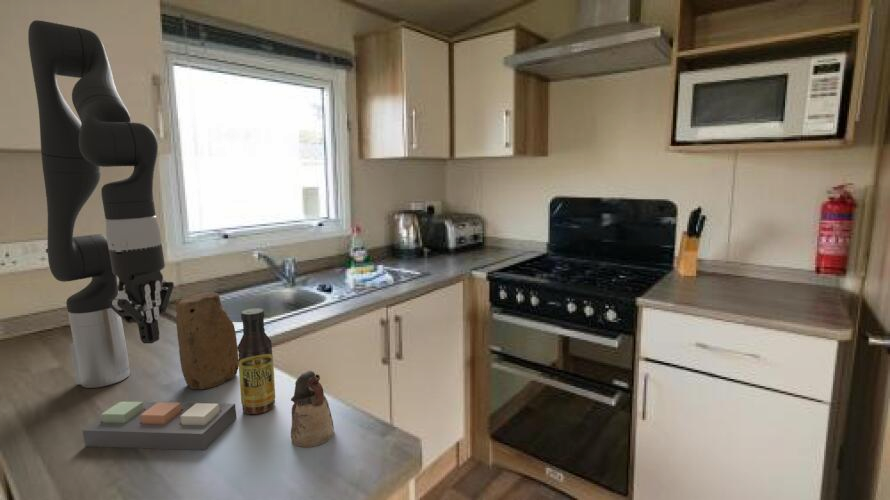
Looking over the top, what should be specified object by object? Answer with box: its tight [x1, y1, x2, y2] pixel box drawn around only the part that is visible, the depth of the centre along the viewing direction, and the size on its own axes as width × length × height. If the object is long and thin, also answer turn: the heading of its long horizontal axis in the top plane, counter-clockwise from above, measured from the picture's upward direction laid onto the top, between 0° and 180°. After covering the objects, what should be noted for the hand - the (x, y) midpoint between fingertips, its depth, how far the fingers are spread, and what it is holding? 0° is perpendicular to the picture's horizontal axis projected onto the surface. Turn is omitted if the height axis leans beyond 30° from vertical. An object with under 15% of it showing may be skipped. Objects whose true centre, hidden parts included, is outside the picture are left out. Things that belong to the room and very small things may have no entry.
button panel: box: [82, 400, 237, 451], centre depth 84 cm, size 22×10×3 cm, turn 84°
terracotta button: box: [141, 401, 182, 424], centre depth 84 cm, size 4×4×2 cm
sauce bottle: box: [237, 307, 276, 415], centre depth 90 cm, size 6×6×20 cm
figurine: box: [290, 370, 335, 448], centre depth 81 cm, size 7×7×12 cm
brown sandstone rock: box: [174, 291, 239, 390], centre depth 103 cm, size 11×8×20 cm
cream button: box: [180, 402, 220, 425], centre depth 83 cm, size 4×4×2 cm
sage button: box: [100, 401, 144, 423], centre depth 85 cm, size 4×4×2 cm
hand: (150, 341), depth 81 cm, fingers closed
